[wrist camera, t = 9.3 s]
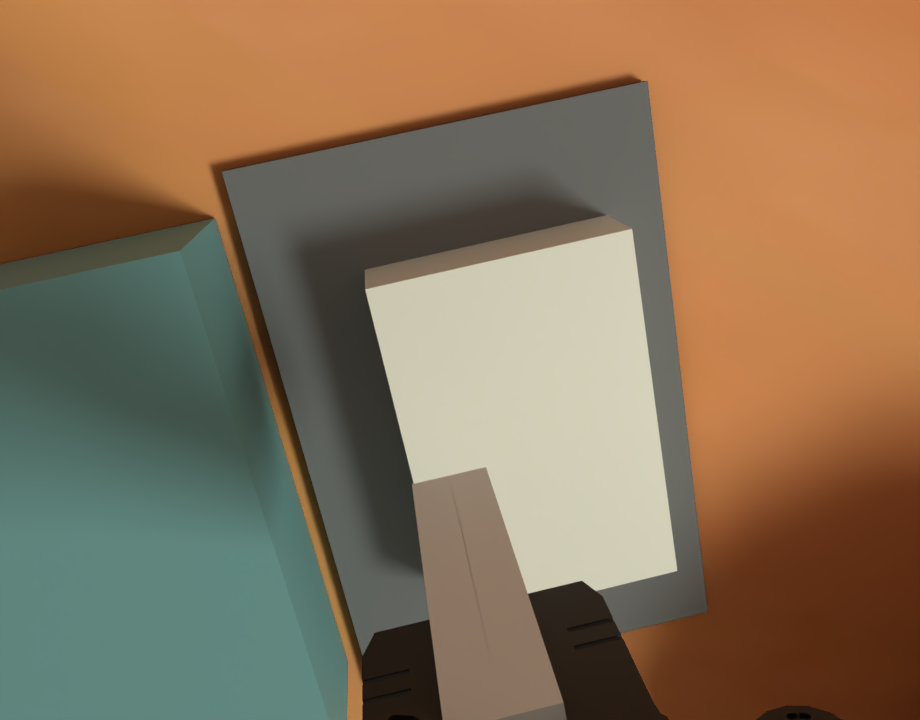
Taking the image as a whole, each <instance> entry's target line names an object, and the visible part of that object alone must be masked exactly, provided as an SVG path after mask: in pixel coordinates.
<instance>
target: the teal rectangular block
mask: <svg viewBox="0 0 920 720" xmlns="http://www.w3.org/2000/svg"><path fill="white" fill-rule="evenodd" d="M347 694H348V661H347V657H346V654H345V651H344V647H343V644H342V641H341V637H340V634H339V631H338V627H337V624H336V621H335V617H334V614H333V611H332V607H331V604H330V601H329V597H328V594H327V591H326V587H325V584H324V581H323V577H322V574H321V571H320V567H319V564H318V560H317V557H316V554H315V550H314V547H313V544H312V540H311V537H310V534H309V530H308V527H307V524H306V520H305V517H304V514H303V510H302V507H301V504H300V500H299V497H298V494H297V490H296V487H295V484H294V480H293V477H292V474H291V470H290V467H289V464H288V460H287V457H286V453H285V450H284V447H283V443H282V440H281V437H280V433H279V430H278V427H277V423H276V420H275V417H274V413H273V410H272V407H271V403H270V400H269V397H268V393H267V390H266V387H265V383H264V380H263V377H262V373H261V370H260V367H259V363H258V360H257V357H256V353H255V350H254V346H253V343H252V340H251V336H250V333H249V330H248V326H247V323H246V320H245V316H244V313H243V310H242V306H241V303H240V300H239V296H238V293H237V290H236V286H235V283H234V280H233V276H232V273H231V270H230V266H229V263H228V260H227V256H226V253H225V250H224V246H223V243H222V239H221V236H220V233H219V229H218V226H217V223H216V219H215V218H213V219H208V220H203V221H199V222H194V223H189V224H185V225H180V226H175V227H171V228H166V229H162V230H157V231H152V232H148V233H143V234H138V235H134V236H129V237H124V238H120V239H115V240H111V241H106V242H101V243H97V244H92V245H87V246H83V247H78V248H73V249H69V250H64V251H60V252H55V253H50V254H46V255H41V256H36V257H32V258H27V259H22V260H18V261H13V262H9V263H4V264H0V720H347Z"/></svg>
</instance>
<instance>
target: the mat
mask: <svg viewBox="0 0 920 720" xmlns="http://www.w3.org/2000/svg"><path fill="white" fill-rule="evenodd" d="M222 175H223V178H224V182H225V185H226V188H227V192H228V195H229V199H230V202H231V206H232V209H233V212H234V216H235V219H236V223H237V226H238V230H239V233H240V237H241V240H242V243H243V247H244V250H245V254H246V257H247V261H248V264H249V267H250V271H251V274H252V278H253V281H254V285H255V288H256V292H257V295H258V298H259V302H260V305H261V309H262V312H263V316H264V319H265V323H266V326H267V329H268V333H269V336H270V340H271V343H272V347H273V350H274V353H275V357H276V360H277V364H278V367H279V371H280V374H281V378H282V381H283V384H284V388H285V391H286V395H287V398H288V402H289V405H290V408H291V412H292V415H293V419H294V422H295V426H296V429H297V433H298V436H299V439H300V443H301V446H302V450H303V453H304V457H305V460H306V464H307V467H308V470H309V474H310V477H311V481H312V484H313V488H314V491H315V494H316V498H317V501H318V505H319V508H320V512H321V515H322V519H323V522H324V525H325V529H326V532H327V536H328V539H329V543H330V546H331V550H332V553H333V556H334V560H335V563H336V567H337V570H338V574H339V577H340V580H341V584H342V587H343V591H344V594H345V598H346V601H347V605H348V608H349V611H350V615H351V618H352V622H353V625H354V629H355V632H356V635H357V639H358V642H359V646H360V649H361V653H362V656H363V654H364V652H365V650H366V648H367V646H368V645H369V643H370V641H371V639H372V637H373V635H374V633H376V632H380V631H384V630H388V629H392V628H396V627H400V626H405V625H409V624H413V623H417V622H421V621H425V620H430V619H429V612H428V604H427V596H426V589H425V581H424V573H423V566H422V558H421V550H420V543H419V535H418V527H417V520H416V512H415V504H414V497H413V489H412V484H414V483H413V479H412V475H411V471H410V467H409V463H408V459H407V455H406V451H405V447H404V443H403V439H402V435H401V431H400V427H399V423H398V419H397V415H396V411H395V407H394V403H393V399H392V395H391V391H390V387H389V383H388V379H387V375H386V371H385V367H384V363H383V359H382V355H381V351H380V347H379V343H378V339H377V335H376V331H375V327H374V323H373V319H372V315H371V311H370V307H369V303H368V299H367V295H366V291H365V270H366V269H370V268H374V267H379V266H383V265H388V264H392V263H397V262H401V261H405V260H410V259H414V258H419V257H423V256H428V255H432V254H436V253H441V252H445V251H450V250H454V249H459V248H463V247H467V246H472V245H476V244H481V243H485V242H490V241H494V240H498V239H503V238H507V237H512V236H516V235H521V234H525V233H529V232H534V231H538V230H543V229H547V228H552V227H556V226H561V225H565V224H569V223H574V222H578V221H583V220H587V219H592V218H596V217H600V216H605V215H607V216H609V217H611V218H613V219H615V220H616V221H618V222H620V223H622V224H624V225H626V226H628V227H630V228H631V229H632V232H633V239H634V247H635V254H636V262H637V270H638V277H639V285H640V292H641V300H642V307H643V315H644V322H645V330H646V338H647V345H648V353H649V360H650V368H651V375H652V383H653V390H654V398H655V406H656V413H657V421H658V428H659V436H660V443H661V451H662V459H663V466H664V474H665V481H666V489H667V496H668V504H669V511H670V519H671V527H672V534H673V542H674V549H675V557H676V564H677V571H675V572H671V573H667V574H663V575H659V576H655V577H651V578H647V579H643V580H639V581H635V582H630V583H626V584H622V585H618V586H614V587H610V588H606V589H602V590H598V591H596V592H598V593H599V594H601V595H602V596H603V598H604V600H605V602H606V604H607V606H608V608H609V611H610V613H611V615H612V617H613V621H615V623H616V625H617V627H618V630H619V632H620V633H623V632H627V631H631V630H636V629H640V628H644V627H648V626H652V625H656V624H660V623H664V622H668V621H672V620H677V619H681V618H685V617H689V616H693V615H697V614H701V613H705V612H708V609H707V600H706V592H705V583H704V574H703V565H702V556H701V547H700V539H699V530H698V521H697V512H696V503H695V495H694V486H693V477H692V468H691V459H690V451H689V442H688V433H687V424H686V415H685V407H684V398H683V389H682V380H681V371H680V363H679V354H678V345H677V336H676V327H675V319H674V310H673V301H672V292H671V283H670V275H669V266H668V257H667V248H666V239H665V230H664V222H663V213H662V204H661V195H660V186H659V178H658V169H657V160H656V151H655V142H654V134H653V125H652V116H651V107H650V98H649V90H648V81H642V82H637V83H633V84H628V85H623V86H619V87H614V88H609V89H605V90H600V91H595V92H590V93H586V94H581V95H576V96H572V97H567V98H562V99H558V100H553V101H548V102H544V103H539V104H534V105H529V106H525V107H520V108H515V109H511V110H506V111H501V112H497V113H492V114H487V115H483V116H478V117H473V118H469V119H464V120H459V121H454V122H450V123H445V124H440V125H436V126H431V127H426V128H422V129H417V130H412V131H408V132H403V133H398V134H393V135H389V136H384V137H379V138H375V139H370V140H365V141H361V142H356V143H351V144H347V145H342V146H337V147H333V148H328V149H323V150H318V151H314V152H309V153H304V154H300V155H295V156H290V157H286V158H281V159H276V160H272V161H267V162H262V163H257V164H253V165H248V166H243V167H239V168H234V169H229V170H225V171H223V172H222Z"/></svg>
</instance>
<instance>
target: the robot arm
mask: <svg viewBox="0 0 920 720" xmlns="http://www.w3.org/2000/svg"><path fill="white" fill-rule="evenodd" d="M412 489H413V497H414V504H415V512H416V520H417V527H418V535H419V543H420V550H421V558H422V566H423V573H424V581H425V589H426V596H427V604H428V612H429V619H430V620H425V621H421V622H417V623H413V624H409V625H405V626H400V627H396V628H392V629H388V630H384V631H380V632H376V633H374V635H373V637H372V639H371V641H370V643H369V645H368V646H367V648H366V650H365V652H364V654H363V656H362V680H363V685H362V689H363V720H669V719H668V718H667V717H666V716H664V715H663V714H661V713H660V712H659V711H658V709H657V708H656V706H655V705H654V703H653V701H652V699H651V697H650V695H649V693H648V691H647V689H646V686H645V684H644V682H643V680H642V678H641V676H640V674H639V672H638V670H637V667H636V665H635V663H634V661H633V659H632V657H631V655H630V653H629V651H628V648H627V646H626V644H625V642H624V640H623V639H622V637H621V634H620V632H619V630H618V627H617V625H616V623H615V621H613V617H612V615H611V613H610V611H609V608H608V606H607V604H606V602H605V600H604V598H603V596H602V595H601V594H599V593H598V592H596V591H595V590H594V589H592V588H591V587H590V586H588V585H587V584H586V583H584V582H583V581H578V582H574V583H570V584H566V585H562V586H558V587H554V588H549V589H545V590H541V591H537V592H533V593H529V594H528V593H527V590H526V587H525V584H524V581H523V578H522V575H521V572H520V569H519V566H518V563H517V560H516V557H515V554H514V551H513V548H512V545H511V541H510V538H509V535H508V532H507V529H506V526H505V523H504V520H503V517H502V514H501V511H500V508H499V505H498V502H497V499H496V496H495V493H494V490H493V487H492V484H491V481H490V478H489V475H488V472H487V469H486V467H484V468H479V469H475V470H471V471H467V472H462V473H458V474H454V475H449V476H445V477H441V478H437V479H432V480H428V481H424V482H419V483H415V484H412ZM757 720H841V719H840V718H838V717H836V716H835V715H833V714H832V713H830V712H826V711H823V710H819V709H816V708H813V707H809V706H784V707H781V708H777V709H774V710H770V711H767V712H766V713H765V714H763V715H762V716H761V717H759V718H758V719H757Z"/></svg>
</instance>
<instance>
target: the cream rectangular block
mask: <svg viewBox="0 0 920 720" xmlns="http://www.w3.org/2000/svg"><path fill="white" fill-rule="evenodd" d="M365 291H366V295H367V299H368V303H369V307H370V311H371V315H372V319H373V323H374V327H375V331H376V335H377V339H378V343H379V347H380V351H381V355H382V359H383V363H384V367H385V371H386V375H387V379H388V383H389V387H390V391H391V395H392V399H393V403H394V407H395V411H396V415H397V419H398V423H399V427H400V431H401V435H402V439H403V443H404V447H405V451H406V455H407V459H408V463H409V467H410V471H411V475H412V479H413V483H414V484H415V483H419V482H424V481H428V480H432V479H437V478H441V477H445V476H449V475H454V474H458V473H462V472H467V471H471V470H475V469H479V468H484V467H486V469H487V472H488V475H489V478H490V481H491V484H492V487H493V490H494V493H495V496H496V499H497V502H498V505H499V508H500V511H501V514H502V517H503V520H504V523H505V526H506V529H507V532H508V535H509V538H510V541H511V545H512V548H513V551H514V554H515V557H516V560H517V563H518V566H519V569H520V572H521V575H522V578H523V581H524V584H525V587H526V590H527V593H528V594H529V593H533V592H537V591H541V590H545V589H549V588H554V587H558V586H562V585H566V584H570V583H574V582H578V581H583V582H584V583H586V584H587V585H588V586H590V587H591V588H592V589H594V590H595V591H598V590H602V589H606V588H610V587H614V586H618V585H622V584H626V583H630V582H635V581H639V580H643V579H647V578H651V577H655V576H659V575H663V574H667V573H671V572H675V571H677V564H676V557H675V549H674V542H673V534H672V527H671V519H670V511H669V504H668V496H667V489H666V481H665V474H664V466H663V459H662V451H661V443H660V436H659V428H658V421H657V413H656V406H655V398H654V390H653V383H652V375H651V368H650V360H649V353H648V345H647V338H646V330H645V322H644V315H643V307H642V300H641V292H640V285H639V277H638V270H637V262H636V254H635V247H634V239H633V232H632V229H631V228H630V227H628V226H626V225H624V224H622V223H620V222H618V221H616V220H615V219H613V218H611V217H609V216H607V215H605V216H600V217H596V218H592V219H587V220H583V221H578V222H574V223H569V224H565V225H561V226H556V227H552V228H547V229H543V230H538V231H534V232H529V233H525V234H521V235H516V236H512V237H507V238H503V239H498V240H494V241H490V242H485V243H481V244H476V245H472V246H467V247H463V248H459V249H454V250H450V251H445V252H441V253H436V254H432V255H428V256H423V257H419V258H414V259H410V260H405V261H401V262H397V263H392V264H388V265H383V266H379V267H374V268H370V269H366V270H365Z"/></svg>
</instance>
